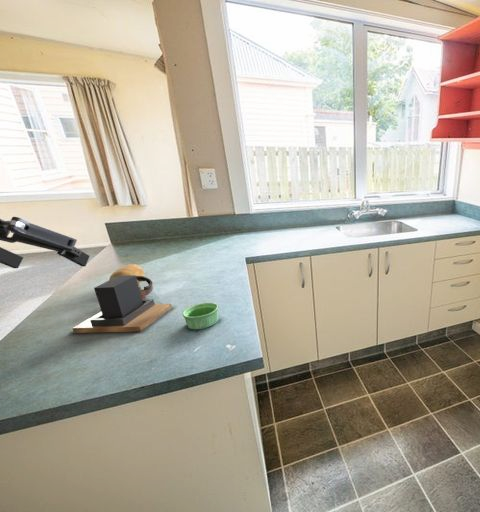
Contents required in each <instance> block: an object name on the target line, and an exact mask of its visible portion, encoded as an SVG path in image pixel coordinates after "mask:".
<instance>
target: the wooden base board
mask: <svg viewBox="0 0 480 512" xmlns="http://www.w3.org/2000/svg"><path fill="white" fill-rule="evenodd" d="M142 301H143V304H142V305H141V306H139V307H138V308H136V309H134V310H133V311H131V312H130V313H128V314H127V315H125V316H124V317H122V318H104V317H103V314H102V311H101V310H100V312H98V313H96V314H94V315H93V316H91V317H89V318H88V319H86V320H83V321H82V322H80V323H79V324H77V325H75V326H74V327H72V328H71V329H72V332H73V333H74V334H79V333H80V334H81V333H82V334H83V333H85V334H87V333H127V332H129V333H130V332H131V333H132V332H142V331H144V330H145V329H146V328H147V327H149V326H150V325H152V324H153V323H154V322H155V321H157V320H158V319H159V318H161V317H162V316H164V314H166V313H168V312H169V311H170V310H171V309H172V308H173V305H172V303H155V301H154V298H153V299H152V298H150V299H149V298H148V299H147V298H146V299H145V298H144V299H142Z"/></svg>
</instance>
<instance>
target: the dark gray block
mask: <svg viewBox="0 0 480 512" xmlns="http://www.w3.org/2000/svg"><path fill="white" fill-rule="evenodd" d="M139 287H140V286H139V284H138V282H137V279H136V275H128V276H117V277H115V278H113V279H111V280H109V279H108V280H106V281H105V282H103V283H101V284H99V285H97V286H94V288H93V289H94V293H95V296H96V300H97V301H98V305H99V308H100V312H101V311H102V314H103V317H104V318H122V317H124V316H125V315H127V314H128V313H130V312H131V311H133V310H134V309H136V308H138V307H139V306H141V305H142V304H143V301H142V300H143V299H142V297H141V293H140V290H141V289H140V290H139Z"/></svg>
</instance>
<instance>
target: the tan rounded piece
mask: <svg viewBox="0 0 480 512" xmlns="http://www.w3.org/2000/svg"><path fill="white" fill-rule="evenodd" d="M145 274H146V273H145V271H144V269H143V268H142V267H141V266H140V265H138V264H135V263H131V264H125V265H123V266H121V267H120V268H118V269H116V270H115V271H113V272H112V273H111V275H110V276H109V279H108V281H109V280H111V279H113V278H115V277H117V276H128V275H136V276H143V277H145ZM137 282H138V285H139V284H141V282H142V281H138V280H137Z"/></svg>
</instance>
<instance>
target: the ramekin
mask: <svg viewBox="0 0 480 512" xmlns="http://www.w3.org/2000/svg"><path fill="white" fill-rule="evenodd" d="M182 317H183V318H184V321H185V323H186V326H187V328H188V329H191V330H202V329H207V328H209V327H212V326H213V325H215V324H216V323H217V322H218V321H219V318H220V317H219V305H218V304H217V303H215V302H202V303H197V304H194V305H192V306H190V307H187V308H186V309H184V311H183V312H182Z"/></svg>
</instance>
